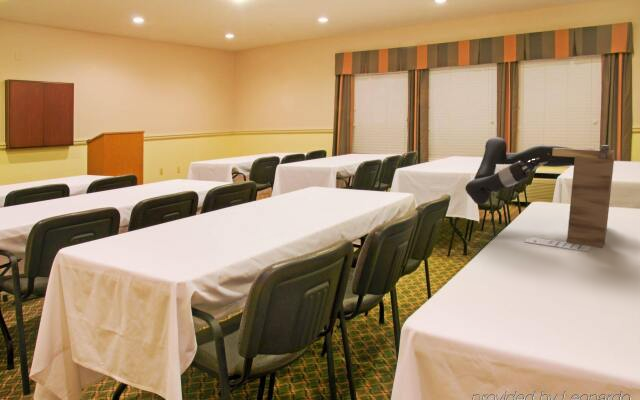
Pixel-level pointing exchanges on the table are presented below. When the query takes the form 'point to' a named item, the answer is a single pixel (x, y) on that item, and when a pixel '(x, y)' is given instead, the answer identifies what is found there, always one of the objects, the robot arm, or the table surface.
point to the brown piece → (590, 199)
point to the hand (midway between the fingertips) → (553, 155)
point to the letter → (558, 244)
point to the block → (580, 153)
